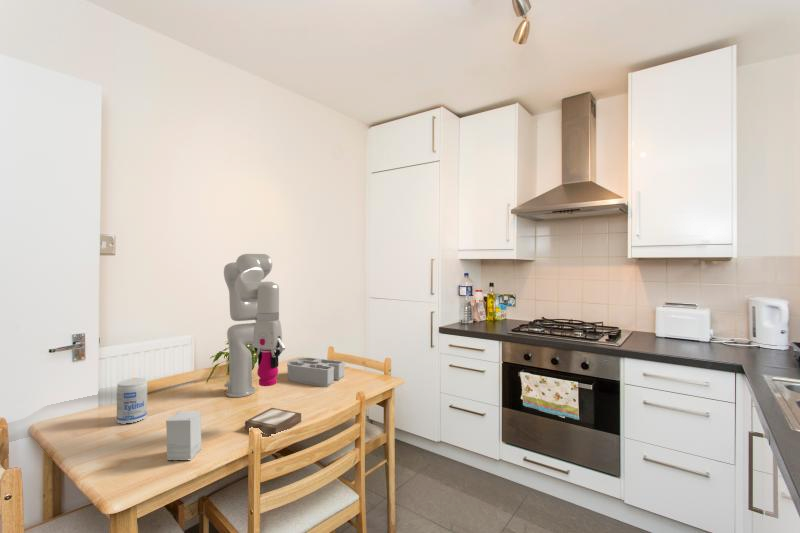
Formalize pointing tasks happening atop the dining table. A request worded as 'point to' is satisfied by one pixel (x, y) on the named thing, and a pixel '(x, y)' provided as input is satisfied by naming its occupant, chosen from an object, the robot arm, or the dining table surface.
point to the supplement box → (183, 435)
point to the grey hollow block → (315, 371)
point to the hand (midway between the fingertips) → (268, 365)
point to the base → (274, 421)
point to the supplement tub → (131, 400)
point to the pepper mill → (266, 368)
